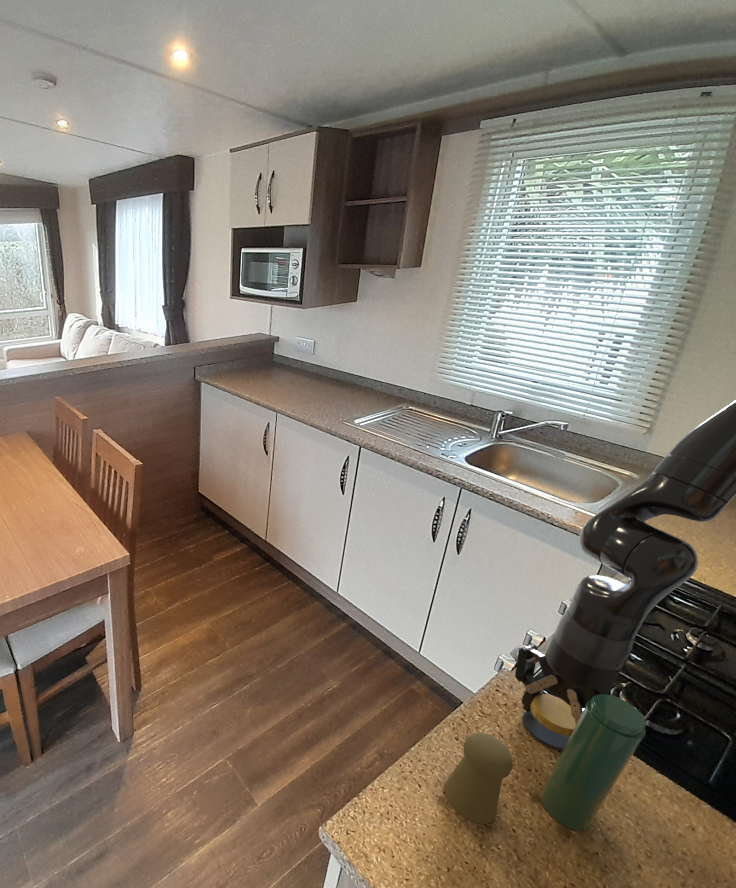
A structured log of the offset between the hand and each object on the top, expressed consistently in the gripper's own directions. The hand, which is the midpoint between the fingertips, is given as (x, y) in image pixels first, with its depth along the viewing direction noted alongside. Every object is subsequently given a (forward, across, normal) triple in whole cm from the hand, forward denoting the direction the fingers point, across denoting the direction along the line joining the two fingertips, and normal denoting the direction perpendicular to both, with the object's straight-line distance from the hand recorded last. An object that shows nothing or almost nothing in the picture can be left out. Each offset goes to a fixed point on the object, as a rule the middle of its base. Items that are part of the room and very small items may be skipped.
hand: (550, 726), depth 74 cm
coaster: (+1, 0, 0) cm, 1 cm away
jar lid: (-3, 0, 0) cm, 3 cm away
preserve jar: (+1, +8, -10) cm, 13 cm away
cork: (+1, +3, -20) cm, 21 cm away
